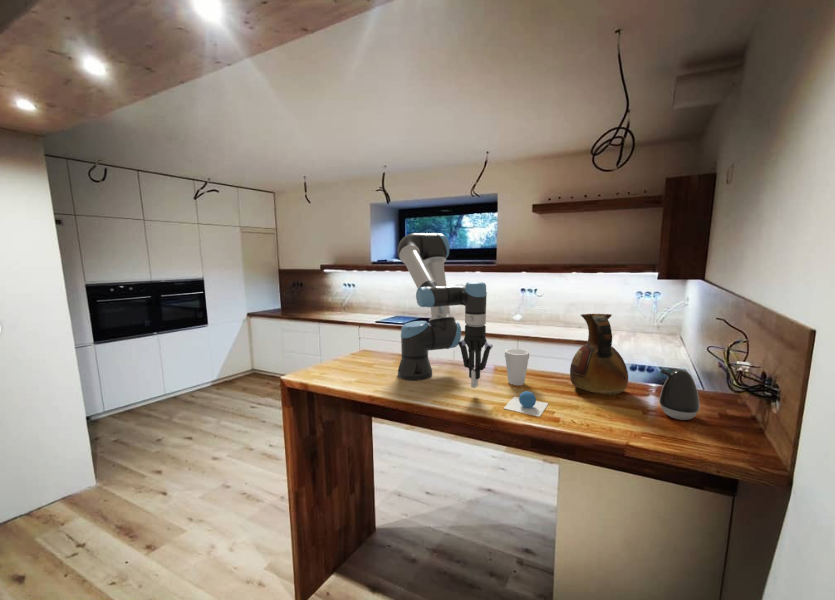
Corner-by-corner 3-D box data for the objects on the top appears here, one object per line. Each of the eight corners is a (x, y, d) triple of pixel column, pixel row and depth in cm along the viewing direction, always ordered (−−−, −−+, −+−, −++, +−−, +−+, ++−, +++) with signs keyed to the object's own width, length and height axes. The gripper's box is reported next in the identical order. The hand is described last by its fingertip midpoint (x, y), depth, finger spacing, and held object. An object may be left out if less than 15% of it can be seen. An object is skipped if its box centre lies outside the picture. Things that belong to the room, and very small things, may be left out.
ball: (518, 391, 119) (534, 398, 116) (523, 386, 123) (539, 392, 120) (515, 406, 120) (531, 413, 117) (520, 400, 125) (536, 406, 122)
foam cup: (531, 386, 139) (532, 354, 138) (507, 387, 140) (508, 354, 138) (524, 378, 149) (525, 348, 147) (502, 378, 149) (502, 348, 148)
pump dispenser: (659, 406, 119) (662, 363, 118) (698, 415, 113) (702, 369, 111) (656, 417, 112) (659, 370, 110) (697, 427, 105) (702, 377, 103)
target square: (503, 408, 120) (503, 408, 120) (514, 396, 130) (514, 396, 130) (539, 417, 113) (539, 416, 113) (548, 403, 123) (548, 403, 123)
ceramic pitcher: (612, 382, 143) (616, 309, 140) (638, 402, 123) (643, 317, 120) (562, 381, 145) (565, 309, 142) (580, 400, 125) (583, 317, 122)
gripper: (454, 324, 129) (454, 386, 132) (488, 328, 122) (487, 393, 125) (463, 321, 135) (462, 380, 138) (496, 324, 128) (494, 386, 131)
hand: (474, 386), depth 132 cm, fingers closed
